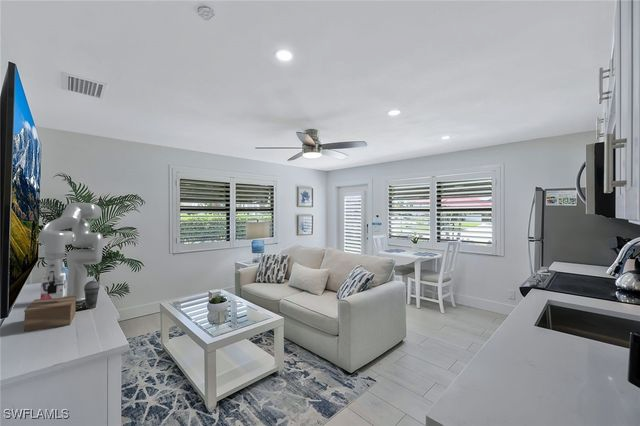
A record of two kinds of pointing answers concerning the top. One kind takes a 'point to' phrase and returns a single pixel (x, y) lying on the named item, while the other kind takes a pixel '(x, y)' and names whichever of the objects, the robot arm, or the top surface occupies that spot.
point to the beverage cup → (91, 293)
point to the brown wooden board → (51, 303)
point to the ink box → (59, 291)
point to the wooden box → (49, 318)
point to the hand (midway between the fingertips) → (53, 291)
